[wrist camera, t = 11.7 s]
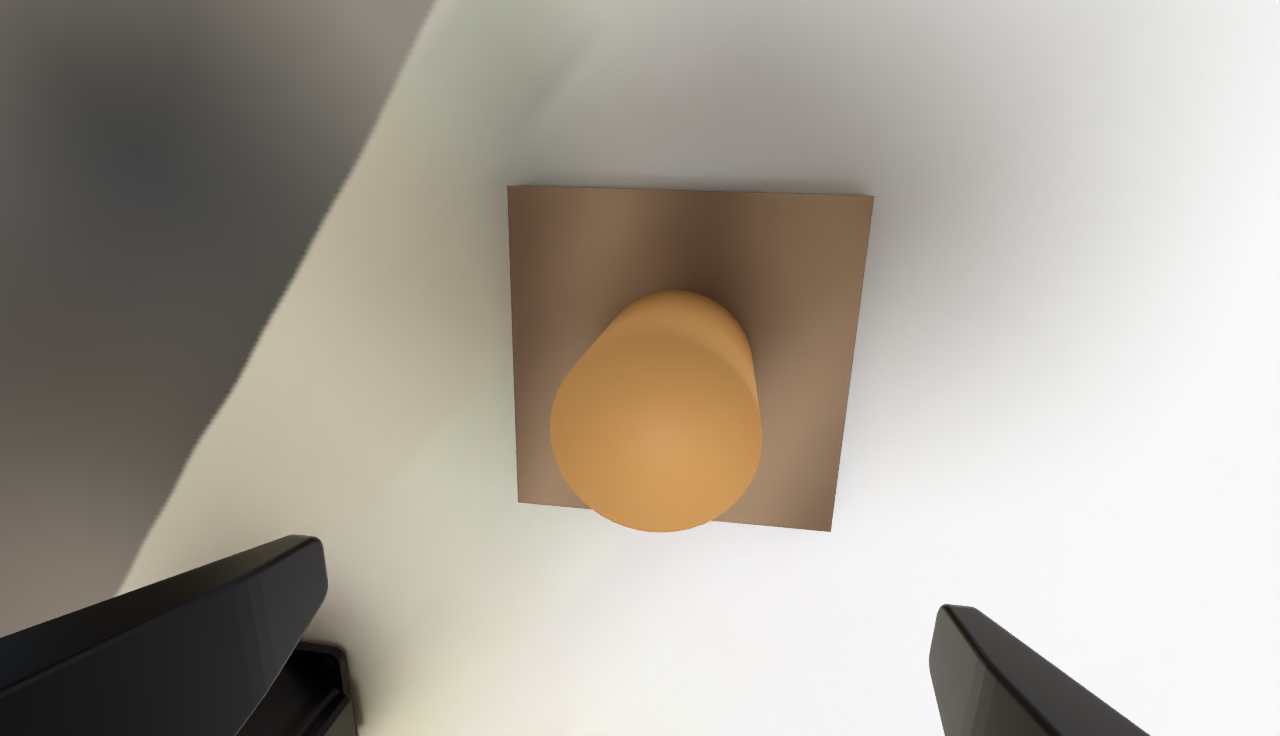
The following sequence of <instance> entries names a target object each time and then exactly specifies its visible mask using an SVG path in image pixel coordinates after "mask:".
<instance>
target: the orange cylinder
mask: <svg viewBox="0 0 1280 736" xmlns="http://www.w3.org/2000/svg"><path fill="white" fill-rule="evenodd" d="M550 437H551V445H552V449H553V454H554V457H555V460H556V462H557V465H558V468H559V469H560V471H561V473H562V475H563V477H564V479H565V480H566V482H567V483H568V485H569V486H570V488H571V489H572V490H573V491H574V492H575V494H576V495H577V496H578V497H579V498H580V499H581V500H582V501H583V502H584V503H585V504H587V505H588V506H589V507H590V508H591V509H593V510H594V511H596V512H597V513H598V514H600V515H602V516H603V517H605V518H607V519H609V520H611V521H613V522H615V523H618V524H620V525H623V526H625V527H629V528H633V529H636V530H642V531H648V532H674V531H681V530H686V529H690V528H693V527H696V526H699V525H702V524H704V523H707V522H709V521H711V520H713V519H715V518H716V517H718V516H719V515H721V514H722V513H724V512H725V511H727V510H728V509H729V508H730V507H731V506H732V505H733V504H735V503H736V501H737V500H738V499H739V498H740V497H741V496H742V495H743V494H744V492H745V491H746V489H747V488H748V486H749V485H750V483H751V481H752V479H753V477H754V475H755V473H756V470H757V467H758V464H759V460H760V456H761V449H762V427H761V419H760V411H759V404H758V396H757V389H756V381H755V373H754V366H753V358H752V351H751V347H750V344H749V341H748V338H747V336H746V334H745V332H744V330H743V328H742V327H741V325H740V323H739V322H738V321H737V320H736V318H735V317H734V316H733V315H732V314H731V313H730V312H729V311H728V310H727V309H726V308H724V307H723V306H722V305H720V304H719V303H718V302H716V301H714V300H712V299H710V298H709V297H706V296H703V295H701V294H698V293H694V292H690V291H683V290H666V291H659V292H655V293H652V294H648V295H646V296H643V297H641V298H639V299H637V300H636V301H634V302H632V303H631V304H629V305H628V306H627V307H626V308H624V309H623V310H622V311H621V312H620V313H619V314H618V315H617V316H616V317H615V319H614V320H613V321H612V322H611V323H610V324H609V326H608V327H607V328H606V329H605V330H604V331H603V333H602V334H601V335H600V336H599V337H598V338H597V340H596V341H595V342H594V343H593V344H592V345H591V347H590V348H589V349H588V350H587V351H586V352H585V354H584V355H583V356H582V357H581V358H580V360H579V361H578V362H577V363H576V364H575V365H574V367H573V368H572V369H571V370H570V371H569V373H568V374H567V376H566V377H565V379H564V380H563V382H562V384H561V385H560V387H559V389H558V391H557V394H556V397H555V400H554V403H553V406H552V412H551V417H550Z"/></svg>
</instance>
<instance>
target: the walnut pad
mask: <svg viewBox="0 0 1280 736" xmlns="http://www.w3.org/2000/svg"><path fill="white" fill-rule="evenodd" d="M507 188H508V218H509V248H510V277H511V307H512V337H513V366H514V396H515V426H516V455H517V485H518V502H520V503H531V504H542V505H552V506H563V507H573V508H584V509H591V508H590V507H589V506H588V505H587V504H585V503H584V502H583V501H582V500H581V499H580V498H579V497H578V496H577V495H576V494H575V492H574V491H573V490H572V489H571V488H570V486H569V485H568V483H567V482H566V480H565V479H564V477H563V475H562V473H561V471H560V469H559V468H558V465H557V462H556V460H555V457H554V454H553V449H552V445H551V437H550V417H551V412H552V406H553V403H554V400H555V397H556V394H557V391H558V389H559V387H560V385H561V384H562V382H563V380H564V379H565V377H566V376H567V374H568V373H569V371H570V370H571V369H572V368H573V367H574V365H575V364H576V363H577V362H578V361H579V360H580V358H581V357H582V356H583V355H584V354H585V352H586V351H587V350H588V349H589V348H590V347H591V345H592V344H593V343H594V342H595V341H596V340H597V338H598V337H599V336H600V335H601V334H602V333H603V331H604V330H605V329H606V328H607V327H608V326H609V324H610V323H611V322H612V321H613V320H614V319H615V317H616V316H617V315H618V314H619V313H620V312H621V311H622V310H623V309H624V308H626V307H627V306H628V305H629V304H631V303H632V302H634V301H636V300H637V299H639V298H641V297H643V296H646V295H648V294H652V293H655V292H659V291H666V290H683V291H690V292H694V293H698V294H701V295H703V296H706V297H709V298H710V299H712V300H714V301H716V302H718V303H719V304H720V305H722V306H723V307H724V308H726V309H727V310H728V311H729V312H730V313H731V314H732V315H733V316H734V317H735V318H736V320H737V321H738V322H739V323H740V325H741V327H742V328H743V330H744V332H745V334H746V336H747V338H748V341H749V344H750V347H751V351H752V358H753V366H754V373H755V381H756V389H757V396H758V404H759V411H760V419H761V427H762V449H761V456H760V460H759V464H758V467H757V470H756V473H755V475H754V477H753V479H752V481H751V483H750V485H749V486H748V488H747V489H746V491H745V492H744V494H743V495H742V496H741V497H740V498H739V499H738V500H737V501H736V503H735V504H733V505H732V506H731V507H730V508H729V509H728V510H727V511H725V512H724V513H722V514H721V515H719V516H718V517H716V518H715V519H713V520H711V521H722V522H732V523H743V524H753V525H764V526H774V527H785V528H796V529H806V530H817V531H827V532H831V525H832V517H833V509H834V501H835V494H836V486H837V478H838V470H839V463H840V455H841V447H842V439H843V432H844V424H845V416H846V409H847V401H848V393H849V385H850V378H851V370H852V362H853V354H854V347H855V339H856V331H857V323H858V316H859V308H860V300H861V292H862V285H863V277H864V269H865V261H866V254H867V246H868V238H869V231H870V223H871V215H872V207H873V200H874V196H860V195H826V194H791V193H756V192H721V191H687V190H652V189H617V188H582V187H547V186H507Z"/></svg>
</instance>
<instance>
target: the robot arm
mask: <svg viewBox="0 0 1280 736" xmlns="http://www.w3.org/2000/svg"><path fill="white" fill-rule="evenodd" d="M327 590H328V579H327V571H326V564H325V557H324V550H323V545H322V542H321V541H320V539H318V538H317V537H313V536H304V535H289V536H286V537H283V538H280V539H277V540H274V541H272V542H269V543H266V544H263V545H260V546H258V547H255V548H252V549H249V550H246V551H244V552H241V553H238V554H235V555H232V556H229V557H227V558H224V559H221V560H218V561H215V562H213V563H210V564H207V565H204V566H201V567H198V568H196V569H193V570H190V571H187V572H184V573H182V574H179V575H176V576H173V577H170V578H168V579H165V580H162V581H159V582H156V583H153V584H151V585H148V586H145V587H142V588H139V589H137V590H134V591H131V592H128V593H125V594H122V595H120V596H117V597H114V598H111V599H109V600H106V601H103V602H100V603H97V604H95V605H92V606H89V607H86V608H83V609H81V610H77V611H75V612H72V613H69V614H66V615H63V616H61V617H58V618H55V619H52V620H50V621H46V622H44V623H41V624H38V625H35V626H32V627H30V628H27V629H24V630H21V631H18V632H16V633H13V634H10V635H7V636H4V637H1V638H0V736H356V730H355V722H354V715H353V707H352V700H351V696H350V689H349V681H348V674H347V666H346V658H345V655H344V653H343V652H342V651H341V650H340V649H338V648H336V647H332V646H325V645H317V644H309V643H301V642H299V640H300V639H301V637H302V636H303V634H304V632H305V631H306V629H307V627H308V626H309V624H310V622H311V621H312V619H313V618H314V616H315V614H316V613H317V611H318V609H319V608H320V606H321V604H322V603H323V601H324V599H325V596H326V594H327ZM929 668H930V674H931V679H932V683H933V687H934V691H935V696H936V700H937V704H938V708H939V712H940V717H941V721H942V725H943V729H944V734H945V736H1150V735H1149V734H1147V733H1146V732H1145V731H1143V730H1142V729H1141V728H1139V727H1138V726H1136V725H1135V724H1134V723H1132V722H1131V721H1130V720H1128V719H1127V718H1125V717H1124V716H1123V715H1121V714H1120V713H1119V712H1117V711H1116V710H1115V709H1113V708H1112V707H1110V706H1109V705H1108V704H1106V703H1105V702H1104V701H1102V700H1101V699H1099V698H1098V697H1097V696H1095V695H1094V694H1093V693H1091V692H1090V691H1089V690H1087V689H1086V688H1084V687H1083V686H1082V685H1080V684H1079V683H1078V682H1076V681H1075V680H1073V679H1072V678H1071V677H1069V676H1068V675H1067V674H1065V673H1064V672H1062V671H1061V670H1060V669H1058V668H1057V667H1056V666H1054V665H1053V664H1052V663H1050V662H1049V661H1047V660H1046V659H1045V658H1043V657H1042V656H1041V655H1039V654H1038V653H1036V652H1035V651H1034V650H1032V649H1031V648H1030V647H1028V646H1027V645H1026V644H1024V643H1023V642H1021V641H1020V640H1019V639H1017V638H1016V637H1015V636H1013V635H1012V634H1010V633H1009V632H1008V631H1006V630H1005V629H1004V628H1002V627H1001V626H999V625H998V624H997V623H995V622H994V621H993V620H991V619H990V618H989V617H987V616H986V615H984V614H983V613H982V612H980V611H979V610H977V609H976V608H974V607H970V606H960V605H950V604H944V605H942V606H941V607H940V609H939V611H938V613H937V617H936V623H935V628H934V633H933V638H932V643H931V648H930V654H929Z"/></svg>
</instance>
